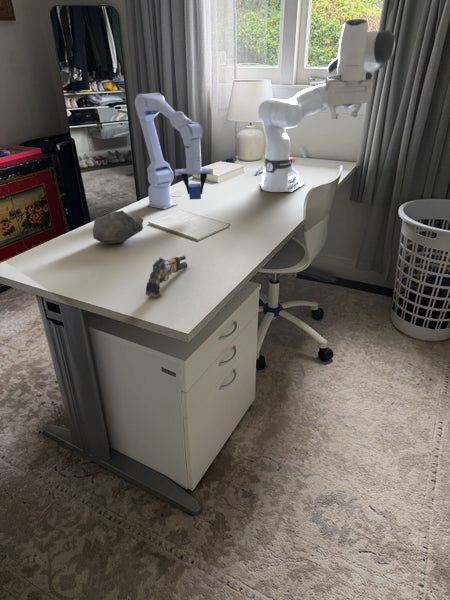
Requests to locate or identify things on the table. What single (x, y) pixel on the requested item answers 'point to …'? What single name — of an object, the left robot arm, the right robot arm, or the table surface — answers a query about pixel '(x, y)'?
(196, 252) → the table surface
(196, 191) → the block
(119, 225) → the stone
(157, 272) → the toy gun
